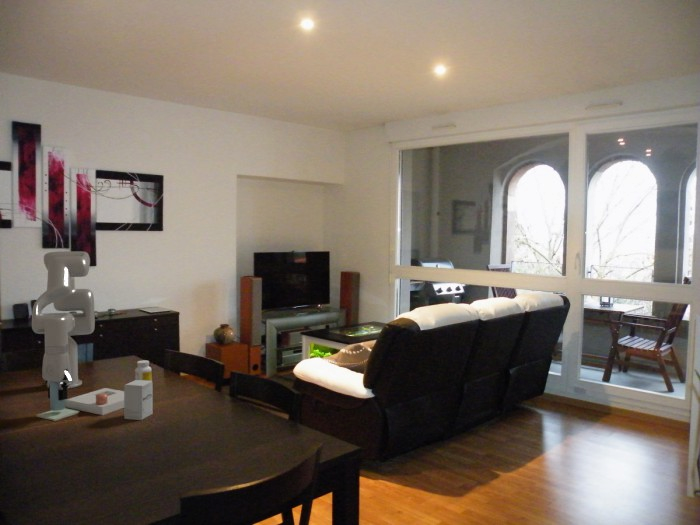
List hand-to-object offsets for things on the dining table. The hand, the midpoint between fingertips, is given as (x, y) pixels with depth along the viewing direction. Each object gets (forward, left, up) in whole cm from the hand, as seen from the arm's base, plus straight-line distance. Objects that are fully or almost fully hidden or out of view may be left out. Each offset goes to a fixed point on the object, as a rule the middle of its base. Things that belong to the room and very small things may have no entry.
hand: (57, 398), depth 201 cm
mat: (0, 0, -6) cm, 6 cm away
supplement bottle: (+5, +36, -7) cm, 37 cm away
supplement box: (+28, +12, -7) cm, 31 cm away
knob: (+11, +10, -5) cm, 16 cm away
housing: (+5, +16, -6) cm, 18 cm away
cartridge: (0, 0, -4) cm, 4 cm away
